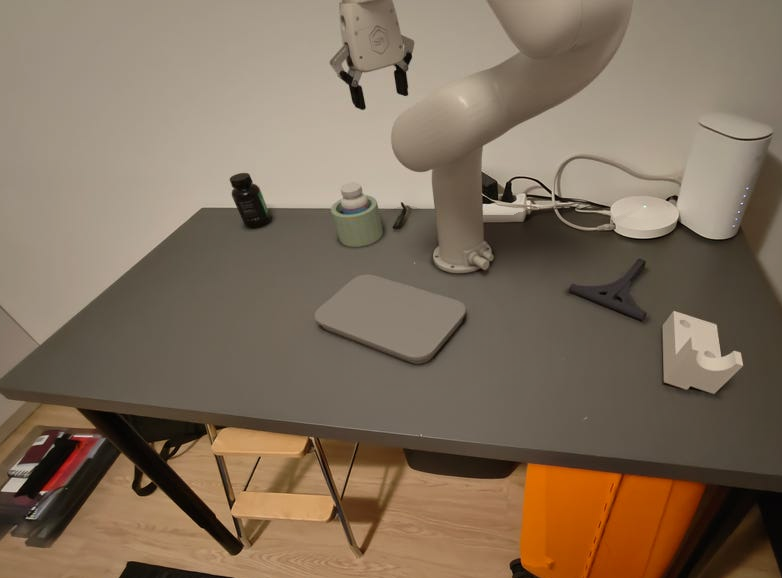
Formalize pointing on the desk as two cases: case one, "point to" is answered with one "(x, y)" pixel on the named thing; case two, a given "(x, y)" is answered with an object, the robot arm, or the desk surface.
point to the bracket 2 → (695, 354)
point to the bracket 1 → (615, 293)
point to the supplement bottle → (249, 201)
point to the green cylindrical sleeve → (358, 224)
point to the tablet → (392, 317)
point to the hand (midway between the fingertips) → (382, 101)
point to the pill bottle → (353, 199)
